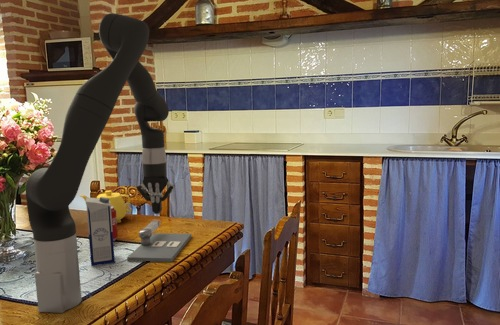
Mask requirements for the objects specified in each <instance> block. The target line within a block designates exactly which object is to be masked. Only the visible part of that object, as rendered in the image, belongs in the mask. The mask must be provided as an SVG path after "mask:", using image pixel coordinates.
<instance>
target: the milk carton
mask: <svg viewBox="0 0 500 325" xmlns="http://www.w3.org/2000/svg"><path fill="white" fill-rule="evenodd" d="M85 206H86V216H87V227H88V228H87V230H88V239H89V241H88V242H89V256H90V266H91V267H93V266H94V267H95V266H101V265H109V264H115V261H116V260H115V248H114V241H113V231H112V217H111V204H110V201H109V199H108V198H105V197H100V199H98V198H97V197H89V196H87V197H86V202H85Z"/></svg>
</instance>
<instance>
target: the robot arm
mask: <svg viewBox="0 0 500 325" xmlns="http://www.w3.org/2000/svg"><path fill="white" fill-rule="evenodd" d="M98 34H99V35H98V36H99V38H100V42H101V44H102V46H103V47H104V49H105V50H106V52H107V53H108V55H109V56H110V57H111V59H112V61H111V62H110V63H109V64H108V65H107V66H106V67H104V68H103V69H102V70H101V71H98V73H96V74H95V75H93V76H92V77H91V78H88V79H87V80H86V81H85V82H84V83H83V84H82V85H80V87H79V88H78V89H77V90H76V92H75V95H74V96H73V98H72V101H71V102H70V105H69V107H68V109H67V112H66V114H65V119H64V123H63V129H62V136H61V140H60V144H59V147H58V149H57V151H56V153H55V155H54V157H53V159H52V161H51V163H50V164H49V166H48V167H41V168H39V169H36V170H35V171H34V172H32V173H31V174H30V175H29V176H28V179H27V180H26V184H25V199H26V200H25V201H26V207H27V214H28V215H27V216H28V221H29V225H30V228H31V231H32V235H33V247H34V255H35V256H34V257H35V268H36V269H35V270H36V272H35V273H34V281H35V290H36V300H37V310H38V311H37V312H39V313H59V314H63V313H64V312H65V311H67V310H70V309H72V308H75V307H77V306H78V305H79V304H80V303H81V302H82V299H83V298H82V288H81V287H82V285H81V276H80V265H79V254H78V253H79V250H78V240H77V228H76V223H75V220H74V218H73V217H72V214H71V212H70V205H71V204H72V203H73V201H74V199H75V198H76V196H77V194H78V191H79V189H80V185H81V182H82V180H83V176H84V174H85V171H86V167H87V166H88V163H89V160H90V158H91V156H92V154H93V151H94V149H95V148H96V146H97V144H98V142H99V139H100V137H101V135H102V133H103V132H104V130H105V128H106V126H107V124H108V121H110V120H109V119H110V117H111V116H112V113H113V111H114V108H115V106H116V104H117V101H118V99H119V97H120V95H121V93H122V91H123V89H124V87H125V85H126V83H127V84H128V87H129V88H130V89H129V90H130V91H131V94H132V96H133V99H134V100H135V101H136V102H135V104H134V107H133V109H134V110H133V111H134V114H135V116H134V117H135V119H136V121H137V124H138V127H139V131H140V134H141V146H142V148H141V150H142V152H141V163H142V174H143V175H142V176H143V179H142V180H141V183H140V184H139V185H136V190H137V191H138V192H139V194H140V195H141V196H142V197H143V198H144V200H145V201H146V202H150V203H151V209H152V213H154V214H155V215H159V214H160V213H161V212H162V211H163V207H162V206H163V204H162V202H165V201H166V200H167V199H168V198H169V196H170V195H171V193H172V192H173V191H174V190H175V188H176V185H175V184H172V183H171V182H169V181H170V180H169V178H168V173H167V170H168V169H167V154H166V149H165V132H164V131H163V130H162V129H160V128H155V127H152V126H151V125H150V124H149V122H163V121H166V120H167V118H168V117H169V113H170V110H169V106H168V103H167V102H166V100H165V98H164V97H163V96H162V95H161V94H160V92H159V91H158V90H157V88H156V85H155V83H154V79H153V77H152V75H151V73H150V72H149V71H148V69H147V68H146V67H145V66H144V65H143V63H141V61H140V59H141V57H142V55H143V54H144V51H146V48H147V46H148V42H149V38H150V28H149V26H148V24H147V23H146V22H145V21H144V20H141V19H138V18H134V17H131V16H127V15H124V14H119V13H107V14H105V15H104V16H103V17H102V19H101V21H100V23H99V26H98ZM165 188H166V191H165V193H164V194H163V191H164V190H165ZM146 189H147V190H146Z"/></svg>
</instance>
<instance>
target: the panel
mask: <svg viewBox="0 0 500 325" xmlns="http://www.w3.org/2000/svg"><path fill="white" fill-rule="evenodd" d="M192 236H193V235H192V233H171V232H170V233H168V232H167V233H165V232H164V233H163V232H160V233H159V232H158V233H157V232H153V233H152V236H151V237H149V238H140V241H141V242H140V243H141V244H140V245H139V246H138V247H137V248H136V249H135V250H134V251H132V252H131V253H130V254H129V255H128V256H127V259H126V260H127V262H146V261H150V262H152V263H172V262H173V261H174V260H175V258H176V257H177V256H178V255H179V254H180V252H181V251H182V249H183V248H184V247H185V245H187V243H188V242H189V241H190V240H191V238H192Z"/></svg>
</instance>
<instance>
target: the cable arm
mask: <svg viewBox="0 0 500 325" xmlns="http://www.w3.org/2000/svg"><path fill="white" fill-rule="evenodd" d="M161 221H162V220H161V219H152V220H151V221H150V222H149V223H148V224H147V225H146V226H145V227H144V228H142V229H140V230H139V231H138V234H139V235H138V236H139V238H140V239H141V238H149V237H151V236H152V235H153V234H154V233H155V231H156V230H157V229H158V228H160V227H161V226H162V225H161V224H162V223H161Z"/></svg>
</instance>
